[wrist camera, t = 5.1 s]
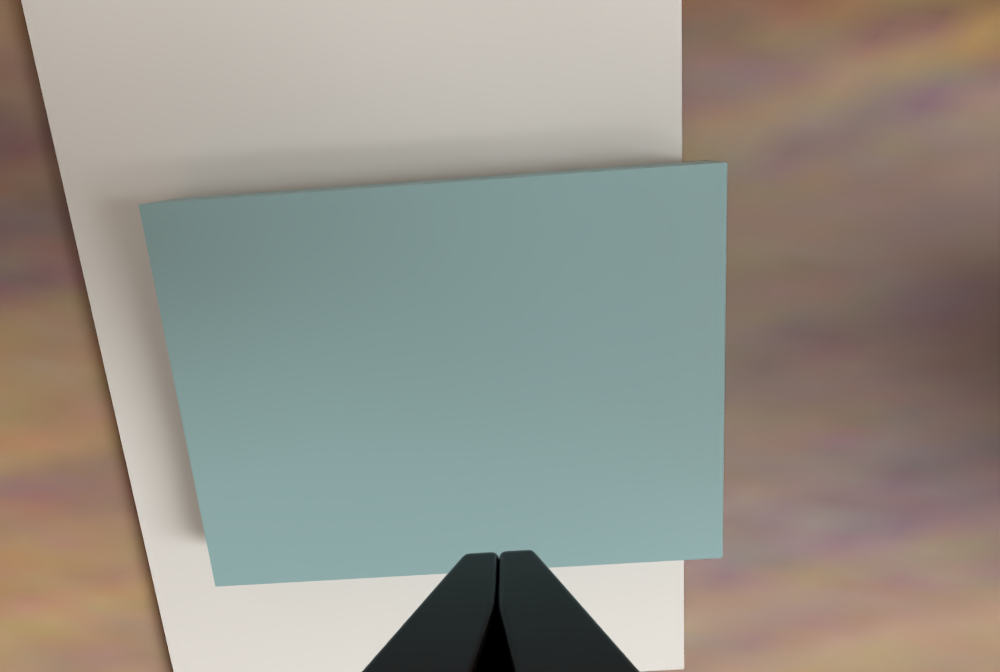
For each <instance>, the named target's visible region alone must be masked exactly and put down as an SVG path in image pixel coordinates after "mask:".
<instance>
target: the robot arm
mask: <svg viewBox="0 0 1000 672" xmlns="http://www.w3.org/2000/svg"><path fill="white" fill-rule="evenodd" d="M362 672H640V671H639V670H638V669H637V668H636V667H635V666H634V665H633V664H632V662H631V661H630V660H629V659H628V658H627V657H626V656H625V654H624V653H623V652H622V651H621V650H620V649H619V648H618V646H617V645H616V644H615V643H614V642H613V641H612V640H611V638H610V637H609V636H608V635H607V634H606V633H605V632H604V631H603V629H602V628H601V627H600V626H599V625H598V624H597V623H596V621H595V620H594V619H593V618H592V617H591V616H590V615H589V613H588V612H587V611H586V610H585V609H584V608H583V607H582V606H581V604H580V603H579V602H578V601H577V600H576V599H575V598H574V596H573V595H572V594H571V593H570V592H569V591H568V590H567V588H566V587H565V586H564V585H563V584H562V583H561V582H560V580H559V579H558V578H557V577H556V576H555V575H554V574H553V573H552V571H551V570H550V569H549V568H548V567H547V566H546V565H545V563H544V562H543V561H542V560H541V559H540V558H539V557H538V555H537V554H536V553H535V552H534V551H532V550H517V551H504V552H502V553H501V554H500V556H498V555H497V554H496V553H494V552H484V553H468V554H465V555H464V556H463V557H462V558H461V559H460V560H459V561H458V562H457V564H456V565H455V566H454V567H453V568H452V569H451V570H450V572H449V573H448V574H447V575H446V576H445V577H444V578H443V580H442V581H441V582H440V583H439V584H438V585H437V586H436V588H435V589H434V590H433V591H432V592H431V593H430V594H429V595H428V597H427V598H426V599H425V600H424V601H423V602H422V603H421V605H420V606H419V607H418V608H417V609H416V610H415V611H414V613H413V614H412V615H411V616H410V617H409V618H408V619H407V621H406V622H405V623H404V624H403V625H402V626H401V627H400V629H399V630H398V631H397V632H396V633H395V634H394V635H393V637H392V638H391V639H390V640H389V641H388V642H387V643H386V645H385V646H384V647H383V648H382V649H381V650H380V651H379V653H378V654H377V655H376V656H375V657H374V658H373V659H372V661H371V662H370V663H369V664H368V665H367V666H366V667H365V669H364V670H363V671H362Z"/></svg>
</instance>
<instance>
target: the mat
mask: <svg viewBox="0 0 1000 672" xmlns="http://www.w3.org/2000/svg"><path fill="white" fill-rule="evenodd" d="M21 2H22V6H23V11H24V15H25V20H26V24H27V28H28V33H29V37H30V42H31V46H32V50H33V55H34V59H35V64H36V68H37V72H38V77H39V81H40V86H41V90H42V94H43V99H44V103H45V108H46V112H47V116H48V121H49V125H50V130H51V134H52V138H53V143H54V147H55V152H56V156H57V160H58V165H59V169H60V174H61V178H62V183H63V187H64V191H65V196H66V200H67V205H68V209H69V213H70V218H71V222H72V227H73V231H74V235H75V240H76V244H77V249H78V253H79V257H80V262H81V266H82V271H83V275H84V279H85V284H86V288H87V293H88V297H89V301H90V306H91V310H92V315H93V319H94V323H95V328H96V332H97V337H98V341H99V345H100V350H101V354H102V359H103V363H104V368H105V372H106V376H107V381H108V385H109V390H110V394H111V398H112V403H113V407H114V412H115V416H116V420H117V425H118V429H119V434H120V438H121V442H122V447H123V451H124V456H125V460H126V464H127V469H128V473H129V478H130V482H131V486H132V491H133V495H134V500H135V504H136V508H137V513H138V517H139V522H140V526H141V530H142V535H143V539H144V544H145V548H146V553H147V557H148V561H149V566H150V570H151V575H152V579H153V583H154V588H155V592H156V597H157V601H158V605H159V610H160V614H161V619H162V623H163V627H164V632H165V636H166V641H167V645H168V649H169V654H170V658H171V663H172V667H173V671H174V672H362V671H363V670H364V669H365V667H366V666H367V665H368V664H369V663H370V662H371V661H372V659H373V658H374V657H375V656H376V655H377V654H378V653H379V651H380V650H381V649H382V648H383V647H384V646H385V645H386V643H387V642H388V641H389V640H390V639H391V638H392V637H393V635H394V634H395V633H396V632H397V631H398V630H399V629H400V627H401V626H402V625H403V624H404V623H405V622H406V621H407V619H408V618H409V617H410V616H411V615H412V614H413V613H414V611H415V610H416V609H417V608H418V607H419V606H420V605H421V603H422V602H423V601H424V600H425V599H426V598H427V597H428V595H429V594H430V593H431V592H432V591H433V590H434V589H435V588H436V586H437V585H438V584H439V583H440V582H441V581H442V580H443V578H444V577H445V576H446V575H447V574H448V573H447V574H430V575H412V576H395V577H377V578H359V579H342V580H324V581H307V582H289V583H271V584H254V585H236V586H218V587H215V582H214V577H213V572H212V567H211V562H210V557H209V552H208V547H207V542H206V537H205V532H204V528H203V523H202V518H201V513H200V508H199V503H198V498H197V493H196V488H195V483H194V478H193V473H192V468H191V463H190V458H189V453H188V448H187V443H186V438H185V433H184V428H183V423H182V418H181V413H180V408H179V403H178V398H177V393H176V388H175V384H174V379H173V374H172V369H171V364H170V359H169V354H168V349H167V344H166V339H165V334H164V329H163V324H162V319H161V314H160V309H159V304H158V299H157V294H156V289H155V284H154V279H153V274H152V269H151V264H150V259H149V254H148V249H147V244H146V240H145V235H144V230H143V225H142V220H141V215H140V210H139V205H140V204H146V203H151V202H157V201H163V200H168V199H178V198H191V197H205V196H219V195H233V194H247V193H261V192H274V191H288V190H302V189H316V188H330V187H344V186H358V185H371V184H385V183H399V182H413V181H427V180H441V179H455V178H468V177H482V176H496V175H510V174H524V173H538V172H551V171H565V170H579V169H593V168H607V167H621V166H635V165H648V164H662V163H676V162H682V0H21ZM549 569H550V570H551V571H552V573H553V574H554V575H555V576H556V577H557V578H558V579H559V580H560V582H561V583H562V584H563V585H564V586H565V587H566V588H567V590H568V591H569V592H570V593H571V594H572V595H573V596H574V598H575V599H576V600H577V601H578V602H579V603H580V604H581V606H582V607H583V608H584V609H585V610H586V611H587V612H588V613H589V615H590V616H591V617H592V618H593V619H594V620H595V621H596V623H597V624H598V625H599V626H600V627H601V628H602V629H603V631H604V632H605V633H606V634H607V635H608V636H609V637H610V638H611V640H612V641H613V642H614V643H615V644H616V645H617V646H618V648H619V649H620V650H621V651H622V652H623V653H624V654H625V656H626V657H627V658H628V659H629V660H630V661H631V662H632V664H633V665H634V666H635V667H636V668H637V669H638V670H639V671H657V670H676V669H684V560H677V561H659V562H641V563H624V564H606V565H588V566H571V567H553V568H549Z"/></svg>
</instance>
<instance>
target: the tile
mask: <svg viewBox="0 0 1000 672" xmlns="http://www.w3.org/2000/svg"><path fill="white" fill-rule="evenodd" d="M139 210H140V215H141V220H142V225H143V230H144V235H145V240H146V244H147V249H148V254H149V259H150V264H151V269H152V274H153V279H154V284H155V289H156V294H157V299H158V304H159V309H160V314H161V319H162V324H163V329H164V334H165V339H166V344H167V349H168V354H169V359H170V364H171V369H172V374H173V379H174V384H175V388H176V393H177V398H178V403H179V408H180V413H181V418H182V423H183V428H184V433H185V438H186V443H187V448H188V453H189V458H190V463H191V468H192V473H193V478H194V483H195V488H196V493H197V498H198V503H199V508H200V513H201V518H202V523H203V528H204V532H205V537H206V542H207V547H208V552H209V557H210V562H211V567H212V572H213V577H214V582H215V587H218V586H236V585H254V584H271V583H289V582H307V581H324V580H342V579H359V578H377V577H395V576H412V575H430V574H447V573H449V572H450V570H451V569H452V568H453V567H454V566H455V565H456V564H457V562H458V561H459V560H460V559H461V558H462V557H463V556H464V555H465V554H468V553H484V552H494V553H496V554H497V555H498V556H500V554H501V553H502V552H504V551H517V550H532V551H534V552H535V553H536V554H537V555H538V557H539V558H540V559H541V560H542V561H543V562H544V563H545V565H546V566H547V567H548V568H553V567H571V566H588V565H606V564H624V563H641V562H659V561H677V560H694V559H712V558H722V556H723V475H724V394H725V313H726V232H727V162H719V161H710V160H704V161H690V162H676V163H662V164H648V165H635V166H621V167H607V168H593V169H579V170H565V171H551V172H538V173H524V174H510V175H496V176H482V177H468V178H455V179H441V180H427V181H413V182H399V183H385V184H371V185H358V186H344V187H330V188H316V189H302V190H288V191H274V192H261V193H247V194H233V195H219V196H205V197H191V198H178V199H168V200H163V201H157V202H151V203H146V204H140V205H139Z"/></svg>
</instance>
